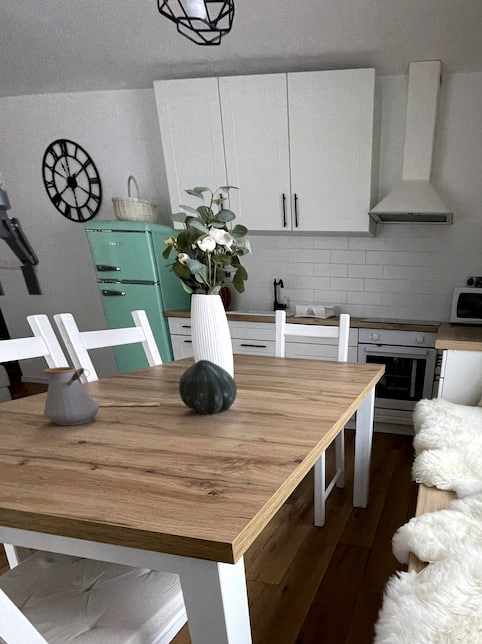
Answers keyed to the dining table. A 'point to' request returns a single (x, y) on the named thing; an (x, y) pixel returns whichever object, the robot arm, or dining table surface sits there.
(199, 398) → the squash
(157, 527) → the dining table surface
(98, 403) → the oak strip
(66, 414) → the coffee pot
